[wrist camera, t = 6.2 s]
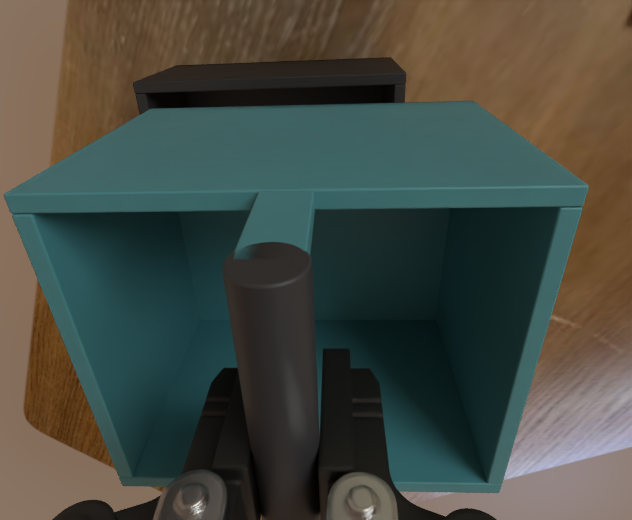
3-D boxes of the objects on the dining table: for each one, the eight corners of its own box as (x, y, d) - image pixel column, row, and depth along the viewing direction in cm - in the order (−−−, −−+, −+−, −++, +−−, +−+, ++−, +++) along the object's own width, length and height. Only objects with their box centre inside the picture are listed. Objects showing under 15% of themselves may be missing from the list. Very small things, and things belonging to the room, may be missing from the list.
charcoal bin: (205, 232, 38) (177, 280, 31) (175, 65, 31) (132, 82, 25) (384, 229, 37) (394, 278, 30) (391, 57, 30) (406, 72, 24)
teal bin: (194, 321, 23) (64, 617, 12) (149, 108, 18) (-161, 287, 7) (442, 321, 22) (546, 633, 11) (474, 100, 17) (727, 283, 6)
